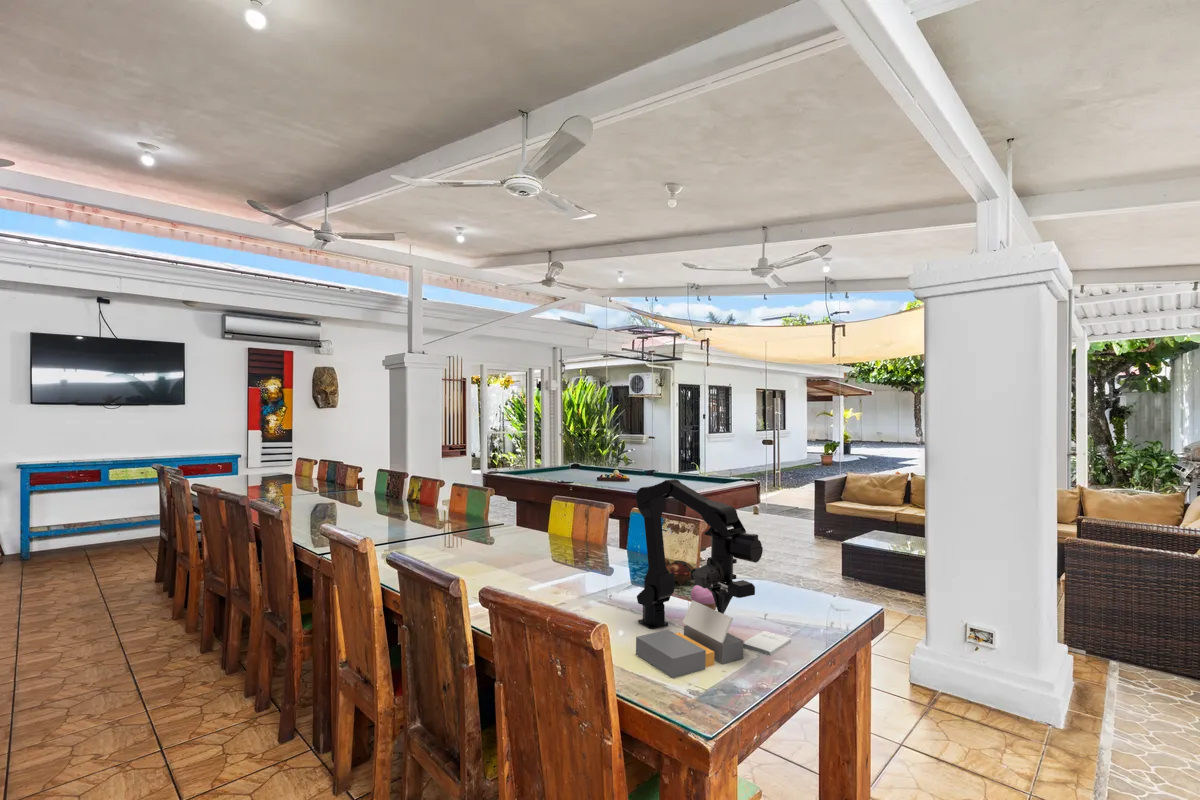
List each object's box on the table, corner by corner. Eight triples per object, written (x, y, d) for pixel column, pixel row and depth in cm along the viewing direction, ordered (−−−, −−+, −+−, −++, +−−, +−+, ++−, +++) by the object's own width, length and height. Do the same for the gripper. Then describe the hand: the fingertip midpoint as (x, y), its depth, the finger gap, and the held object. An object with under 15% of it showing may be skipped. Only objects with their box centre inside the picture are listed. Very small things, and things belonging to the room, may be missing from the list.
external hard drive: (741, 648, 162) (763, 635, 171) (770, 658, 156) (791, 643, 166) (741, 642, 162) (763, 629, 171) (770, 651, 156) (791, 637, 166)
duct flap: (692, 599, 165) (693, 600, 165) (682, 622, 163) (683, 623, 164) (731, 617, 152) (733, 618, 153) (721, 642, 151) (722, 643, 151)
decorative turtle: (660, 576, 224) (662, 554, 225) (701, 584, 220) (703, 561, 220) (654, 582, 215) (656, 559, 215) (697, 590, 210) (699, 567, 211)
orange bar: (668, 634, 161) (679, 632, 163) (668, 648, 161) (679, 645, 163) (703, 654, 149) (714, 651, 151) (703, 669, 149) (714, 666, 151)
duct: (635, 654, 156) (636, 636, 156) (703, 637, 167) (703, 621, 167) (672, 678, 143) (672, 658, 143) (743, 658, 155) (743, 640, 154)
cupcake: (721, 623, 179) (722, 589, 179) (691, 622, 179) (692, 587, 179) (717, 612, 187) (718, 580, 187) (689, 611, 188) (689, 578, 188)
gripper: (675, 550, 164) (674, 608, 164) (724, 567, 148) (722, 631, 148) (707, 545, 170) (705, 601, 170) (757, 561, 154) (755, 623, 154)
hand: (720, 614), depth 160 cm, fingers closed
